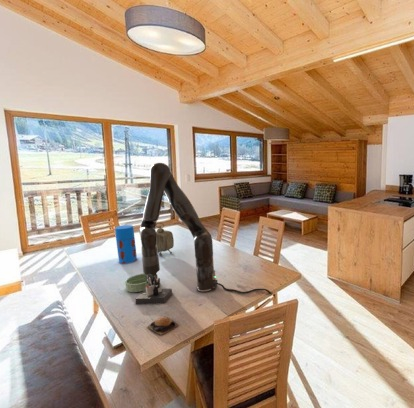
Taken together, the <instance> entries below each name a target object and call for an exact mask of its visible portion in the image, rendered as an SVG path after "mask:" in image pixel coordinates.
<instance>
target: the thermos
mask: <svg viewBox="0 0 414 408" xmlns="http://www.w3.org/2000/svg"><path fill="white" fill-rule="evenodd" d="M114 233H115V234H114V235H115V241H116V250H117V255H118V256H117V257H118V262H119V264H123V265H125V264H130V263H134V262H136V261H137V260H138V258H137V247H136V238H135V229H134V226H133V225H132V224H123V225H118V226H116V227H114Z"/></svg>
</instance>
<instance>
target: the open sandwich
mask: <svg viewBox="0 0 414 408" xmlns="http://www.w3.org/2000/svg"><path fill="white" fill-rule="evenodd" d="M176 327H178V325H177V323H176V322H174V321H173V320H172V319H170V318H169V317H166V316H161V317H159V318H157V319H156V320H154V321H152V322H151V323H150V324H149V325H148V327H147V328H149V329H150V330H151V331H153V332H154V333H155V334H158V335H159V336H163V335H165V334H167V333H169V332H170V331H172V330H174V329H175V328H176Z"/></svg>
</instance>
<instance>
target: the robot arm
mask: <svg viewBox="0 0 414 408" xmlns="http://www.w3.org/2000/svg"><path fill="white" fill-rule="evenodd" d="M149 175H150V177H149V191H148V194H147V197H146V201H145V205H144V210H143V214H142V220H141V223H140V226H139V236H140V242H141V263H142V271H143V273H142V274H145V276H146V281H147V283H148V285H149V286H152V287H153V295H154V296H156V295H158V288H160V283H161V278H160V277H159V276H158V274H157V273H158V272H160V270H161V267H160V256H159V253H158V251H157V245H156V243H157V236H156V232H157V230H156V228H157V227H156V226H157V225H156V223H158V220H159V218H160V214H161V209H162V203H163V196H164V194H165V196H166V199H167V200H168V201H167V202H168V203H169V205H170V207H171V208H172V210H173V211H174V214H175V215H176V217H177V218H178V219H179V220H180V221H181V222H182V223H183V224H184V225H185V226H186V227H187V229H188V230H189V232H190V233H191V236H192V238H193V244H194V245H193V246H194V256H195V257H194V258H195V269H196V283H197V291H198V292H201V293H208V292H211V291H214V290H215V288H216V287H217V285H218V286H220V287H221V288H222V289H223V290H224V291H228V292H235V293H238V294H249V293H252V292H257V291H265V292H267V293H268V294H270V295H271V294H272V292H271V291H270V290H269V289H267V288H254V289H250V290H247V291H241V290H238V289H234V288H226V287H225V286H224V284H222V283H220V282H218V281H219V280H218V279H216V270H215V267H214V244H213V237H212V234H211V233H210V232H209V230H208V229H207V228H206V227H205V226H204V224H203V223H202V221H201V220H200V217H199V215H198V213H197V211H196V209H195V207H194V206H193V204H192V202H191V201H190V199H189V198H188V196H187V195H186V193H185V192H184V191H183V190H182V188H181V187H180V186H179V185H178V183H177V180H176V179H175V177H174V175H173V173H172V171H171V167H170V166H169V165H168V164H166V163H164V162H156V163H154V164H152V165H151V166H150V169H149Z"/></svg>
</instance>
